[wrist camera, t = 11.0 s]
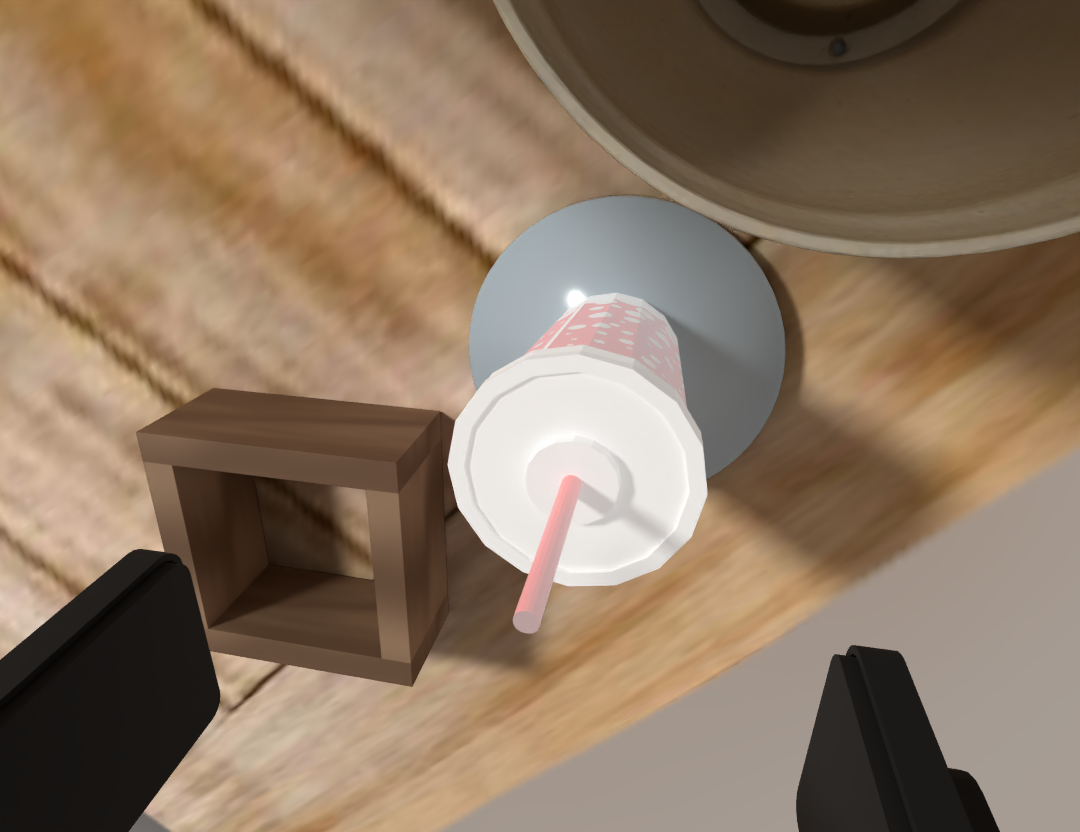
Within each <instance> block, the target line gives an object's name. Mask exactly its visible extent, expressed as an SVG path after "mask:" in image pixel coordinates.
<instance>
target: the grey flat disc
mask: <svg viewBox="0 0 1080 832" xmlns="http://www.w3.org/2000/svg"><path fill="white" fill-rule="evenodd" d="M611 293H620V294H624V295H628V296H632V297H635V298H639V299H643V300H644V301H646V302H647V303H648V304H650V305H651V306H652V307H654V308H655V309H656V310H657V311H659V312H660V313H661V314H663V315H664V316H665V318H666V320H667V321H668V323H669V325H670V327H671V328H672V330H673V332H674V334H675V335H676V337H677V341H678V348H679V355H680V362H681V369H682V376H683V383H684V391H685V398H686V405H687V409H688V411H689V412H690V414H691V416H692V418H693V419H694V421H695V423H696V424H697V426H698V428H699V430H700V431H701V436H702V441H703V450H704V460H705V471H706V479H708V478H710V477H711V476H713V475H715V474H716V473H718V472H720V471H721V470H722V469H724V468H725V467H726V466H728V465H729V464H730V463H732V462H733V461H734V460H736V459H737V458H738V457H739V456H740V455H741V454H742V453H743V452H744V451H745V450H746V449H747V448H748V447H749V446H750V444H751V443H752V442H753V440H754V439H755V438H756V437H757V435H758V434H759V433H760V431H761V430H762V428H763V426H764V425H765V423H766V421H767V420H768V418H769V416H770V414H771V412H772V410H773V407H774V405H775V402H776V400H777V398H778V395H779V391H780V387H781V383H782V379H783V375H784V366H785V356H786V351H785V332H784V327H783V322H782V317H781V312H780V309H779V306H778V303H777V301H776V298H775V295H774V292H773V290H772V288H771V286H770V284H769V282H768V280H767V278H766V276H765V274H764V272H763V270H762V268H761V267H760V266H759V264H758V263H757V261H756V260H755V259H754V257H753V256H752V254H751V253H750V252H749V250H748V249H747V248H746V247H745V246H744V245H743V244H742V243H741V242H740V241H739V240H738V239H737V238H736V237H735V236H734V235H733V234H732V233H730V232H729V231H728V230H727V229H725V228H724V227H723V226H721V225H720V224H719V223H718V222H716V221H714V220H712V219H710V218H708V217H706V216H704V215H701V214H699V213H697V212H695V211H693V210H690V209H688V208H686V207H684V206H683V205H681V204H679V203H677V202H673V201H669V200H665V199H662V198H658V197H651V196H642V195H609V196H603V197H597V198H591V199H587V200H584V201H581V202H578V203H574V204H571V205H569V206H566V207H564V208H562V209H560V210H558V211H556V212H553V213H551V214H550V215H548V216H547V217H545V218H543V219H542V220H540V221H539V222H537V223H536V224H534V225H533V226H531V227H530V228H528V229H527V230H526V231H525V232H524V233H522V234H521V235H520V236H519V237H518V238H517V239H515V240H514V241H513V242H512V243H511V244H510V245H509V246H508V248H507V249H506V250H505V251H504V252H503V253H502V254H501V256H500V257H499V258H498V259H497V261H496V262H495V264H494V265H493V267H492V268H491V270H490V271H489V273H488V275H487V277H486V279H485V281H484V283H483V285H482V287H481V289H480V291H479V294H478V297H477V300H476V303H475V306H474V310H473V314H472V320H471V326H470V337H469V354H470V365H471V371H472V375H473V380H474V384H475V387H476V390H477V391H478V389H479V388H480V386H481V385H482V384H483V382H484V381H485V380H486V379H488V378H489V377H490V376H491V374H492V373H494V372H495V371H497V370H499V369H501V368H503V367H504V366H506V365H508V364H510V363H511V362H513V361H515V360H517V359H519V358H520V357H522V356H524V355H525V354H526V353H527V352H528V351H529V349H530V348H531V347H532V346H533V345H534V344H535V343H536V342H537V341H538V340H539V339H540V338H541V337H542V336H543V335H544V334H545V333H546V332H547V331H548V330H549V329H550V328H551V327H552V326H553V325H554V324H555V323H556V322H557V321H558V320H559V318H560V317H561V316H562V315H563V314H564V313H565V312H566V311H567V310H568V309H569V308H571V307H573V306H575V305H576V304H578V303H580V302H582V301H583V300H585V299H587V298H589V297H590V296H595V295H603V294H611Z"/></svg>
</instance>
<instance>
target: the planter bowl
mask: <svg viewBox="0 0 1080 832" xmlns="http://www.w3.org/2000/svg"><path fill="white" fill-rule="evenodd" d="M493 2H494V4H495V6H496V8H497V10H498V12H499V14H500V16H501V18H502V19H503V21H504V23H505V25H506V27H507V29H508V30H509V32H510V34H511V35H512V37H513V39H514V40H515V42H516V44H517V45H518V47H519V49H520V50H521V52H522V54H523V55H524V57H525V58H526V60H527V61H528V63H529V64H530V66H531V67H532V69H533V70H534V72H535V73H536V74H537V76H538V77H539V78H540V79H541V81H542V82H543V83H544V85H545V86H546V87H547V89H548V90H549V91H550V93H551V94H552V95H553V96H554V98H555V99H556V100H557V101H558V102H559V103H560V105H561V106H562V107H563V108H564V109H565V110H566V112H567V113H568V114H569V115H570V116H571V117H572V119H573V120H574V121H575V122H576V123H577V124H578V125H579V126H580V127H581V128H582V129H583V130H584V131H585V132H586V133H587V134H588V135H589V136H590V137H591V138H592V139H593V140H594V141H595V142H597V143H598V144H599V145H600V146H601V147H602V148H603V149H604V150H606V151H607V152H608V153H609V154H610V155H611V156H612V157H613V158H614V159H616V160H617V161H618V162H619V163H620V164H621V165H623V166H624V167H625V168H627V169H628V170H630V171H631V172H632V173H634V174H635V175H637V176H638V177H639V178H641V179H642V180H643V181H645V182H646V183H648V184H649V185H650V186H652V187H653V188H654V189H656V190H657V191H659V192H661V193H662V194H664V195H666V196H667V197H669V198H671V199H673V200H674V201H676V202H678V203H679V204H681V205H683V206H684V207H686V208H688V209H690V210H693V211H695V212H697V213H699V214H701V215H704V216H706V217H708V218H710V219H712V220H715V221H717V222H719V223H721V224H723V225H726V226H728V227H730V228H733V229H736V230H739V231H742V232H745V233H748V234H751V235H754V236H757V237H760V238H763V239H765V240H769V241H773V242H778V243H782V244H786V245H790V246H795V247H799V248H803V249H808V250H814V251H819V252H825V253H830V254H839V255H849V256H860V257H870V258H907V259H918V258H934V257H949V256H958V255H967V254H975V253H984V252H992V251H998V250H1003V249H1009V248H1015V247H1020V246H1025V245H1030V244H1034V243H1039V242H1043V241H1047V240H1052V239H1056V238H1060V237H1063V236H1067V235H1070V234H1073V233H1076V232H1079V231H1080V0H493Z"/></svg>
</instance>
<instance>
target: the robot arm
mask: <svg viewBox="0 0 1080 832" xmlns="http://www.w3.org/2000/svg"><path fill="white" fill-rule="evenodd" d="M219 703H220V690H219V686H218V682H217V678H216V674H215V670H214V666H213V662H212V658H211V654H210V650H209V646H208V642H207V638H206V633H205V629H204V625H203V621H202V617H201V613H200V609H199V605H198V601H197V597H196V593H195V589H194V585H193V581H192V577H191V573H190V571H189V568H188V567H187V566H186V565H183V563H182V560H181V558H180V557H179V556H178V555H176V554H173V553H166V552H159V551H152V550H144V549H137V550H133V551H132V552H130V553H129V554H127V555H126V556H125V557H123V558H122V559H121V560H120V561H119V562H117V563H116V564H115V565H114V566H113V567H111V568H110V569H109V570H108V571H107V572H105V573H104V574H103V575H102V576H101V577H99V578H98V579H97V580H96V581H95V582H93V583H92V584H91V585H90V586H89V587H87V588H86V589H85V590H84V591H83V592H81V593H80V594H79V595H78V596H77V597H75V598H74V599H73V600H72V601H70V602H69V603H68V604H67V605H66V606H64V607H63V608H62V609H61V610H60V611H58V612H57V613H56V614H55V615H54V616H52V617H51V618H50V619H49V620H48V621H46V622H45V623H44V624H43V625H42V626H40V627H39V628H38V629H37V630H36V631H34V632H33V633H32V634H31V635H30V636H28V637H27V638H26V639H25V640H24V641H22V642H21V643H20V644H19V645H18V646H16V647H15V648H14V649H13V650H12V651H10V652H9V653H8V654H7V655H6V656H4V657H3V658H2V659H1V660H0V832H129V830H130V829H131V827H132V826H133V825H134V824H135V822H136V821H137V820H138V818H139V817H140V816H141V814H142V813H143V812H144V810H145V809H146V808H147V806H148V805H149V804H150V802H151V801H152V799H153V798H154V797H155V795H156V794H157V793H158V791H159V790H160V789H161V787H162V786H163V785H164V783H165V782H166V781H167V779H168V778H169V777H170V775H171V774H172V773H173V771H174V770H175V769H176V767H177V766H178V765H179V763H180V762H181V761H182V759H183V758H184V757H185V755H186V754H187V753H188V751H189V750H190V749H191V747H192V746H193V745H194V743H195V742H196V741H197V739H198V738H199V737H200V735H201V734H202V733H203V731H204V730H205V729H206V727H207V726H208V725H209V723H210V722H211V721H212V719H213V717H214V716H215V714H216V712H217V710H218V707H219ZM796 812H797V822H798V828H799V832H1000V831H999V829H998V826H997V824H996V822H995V820H994V817H993V815H992V813H991V811H990V808H989V806H988V804H987V801H986V799H985V797H984V794H983V792H982V791H981V789H980V787H979V785H978V783H977V782H976V780H975V779H974V778H973V777H972V776H971V775H970V774H969V773H968V772H966V771H962V770H957V769H951V768H948V767H947V765H946V762H945V760H944V757H943V755H942V752H941V750H940V747H939V745H938V742H937V740H936V737H935V735H934V732H933V730H932V727H931V725H930V723H929V720H928V717H927V715H926V712H925V710H924V707H923V705H922V702H921V700H920V697H919V695H918V692H917V690H916V687H915V685H914V682H913V680H912V678H911V675H910V672H909V670H908V667H907V665H906V662H905V660H904V658H903V657H902V655H901V654H900V653H899V652H898V651H892V650H886V649H877V648H870V647H863V646H856V645H853V646H850V647H849V649H848V651H847V653H846V656H845V655H837V654H835V655H834V656H833V657H832V660H831V663H830V667H829V671H828V674H827V678H826V683H825V686H824V690H823V694H822V698H821V701H820V705H819V709H818V713H817V717H816V721H815V725H814V728H813V732H812V736H811V740H810V744H809V748H808V751H807V755H806V759H805V763H804V767H803V771H802V775H801V779H800V782H799V786H798V791H797V800H796Z"/></svg>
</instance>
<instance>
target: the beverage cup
mask: <svg viewBox="0 0 1080 832" xmlns="http://www.w3.org/2000/svg"><path fill="white" fill-rule="evenodd" d="M447 465H448V469H449V473H450V477H451V481H452V485H453V489H454V493H455V497H456V501H457V505H458V508H459V510H460V511H461V513H462V514H463V515H464V517H465V518H466V520H467V521H468V522H469V524H470V525H471V527H472V528H473V529H474V531H475V532H476V534H477V535H478V536H479V538H480V539H481V541H482V542H483V543H484V545H485V546H487V547H488V548H490V549H491V550H492V551H494V552H495V553H497V554H498V555H499V556H501V557H502V558H504V559H505V560H506V561H508V562H509V563H511V564H512V565H513V566H515V567H516V568H518V569H519V570H521V571H522V572H524V573H527V574H528V577H527V580H526V583H525V586H524V588H523V591H522V594H521V597H520V600H519V602H518V605H517V608H516V611H515V614H514V616H513V625H514V626H515V627H516V629H518V630H519V631H520V632H523V633H534V632H536V631H537V630H538V629H539V627H540V623H541V620H542V617H543V613H544V610H545V607H546V603H547V600H548V597H549V593H550V590H551V587H552V583H553V582H556V583H559V584H563V585H566V586H604V585H617V584H620V583H623V582H625V581H628V580H630V579H633V578H636V577H638V576H641V575H643V574H646V573H649V572H651V571H654V570H656V569H659V568H660V567H661V566H662V565H663V564H664V563H665V562H666V561H667V560H668V559H669V558H670V557H671V556H672V555H673V554H674V553H675V552H676V551H677V550H679V549H680V548H681V547H682V546H683V545H684V544H685V543H686V542H687V541H688V540H689V539H690V538H691V537H692V534H693V531H694V529H695V526H696V524H697V521H698V518H699V516H700V513H701V510H702V508H703V505H704V503H705V500H706V497H707V481H706V471H705V460H704V450H703V441H702V436H701V431H700V430H699V428H698V426H697V424H696V423H695V421H694V419H693V418H692V416H691V414H690V412H689V411H688V409H687V405H686V398H685V391H684V383H683V376H682V369H681V362H680V355H679V348H678V341H677V337H676V335H675V334H674V332H673V330H672V328H671V327H670V325H669V323H668V321H667V320H666V318H665V316H664V315H663V314H661V313H660V312H659V311H657V310H656V309H655V308H654V307H652V306H651V305H650V304H648V303H647V302H646V301H644V300H643V299H639V298H635V297H632V296H628V295H624V294H620V293H611V294H603V295H595V296H590V297H589V298H587V299H585V300H583V301H582V302H580V303H578V304H576V305H575V306H573V307H571V308H569V309H568V310H567V311H566V312H565V313H564V314H563V315H562V316H561V317H560V318H559V320H558V321H557V322H556V323H555V324H554V325H553V326H552V327H551V328H550V329H549V330H548V331H547V332H546V333H545V334H544V335H543V336H542V337H541V338H540V339H539V340H538V341H537V342H536V343H535V344H534V345H533V346H532V347H531V348H530V349H529V351H528V352H527V353H526V354H525V355H524V356H522V357H520V358H519V359H517V360H515V361H513V362H511V363H510V364H508V365H506V366H504V367H503V368H501V369H499V370H497V371H495V372H494V373H492V374H491V376H490V377H489V378H488V379H486V380H485V381H484V382H483V384H482V385H481V386H480V388H479V389H478V391H477V392H476V393H475V395H474V396H473V398H472V399H471V400H470V402H469V403H468V404H467V406H466V407H465V409H464V410H463V411H462V413H461V414H460V415H459V417H458V418H457V420H456V421H455V426H454V431H453V437H452V442H451V448H450V453H449V459H448V464H447Z"/></svg>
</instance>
